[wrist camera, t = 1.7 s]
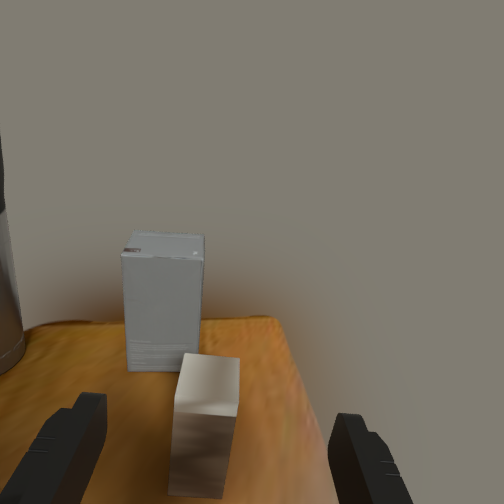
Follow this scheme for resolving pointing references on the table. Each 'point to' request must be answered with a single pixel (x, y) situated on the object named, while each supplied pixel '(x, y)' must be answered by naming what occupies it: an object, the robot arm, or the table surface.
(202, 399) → the walnut block
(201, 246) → the skincare box
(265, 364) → the table surface
